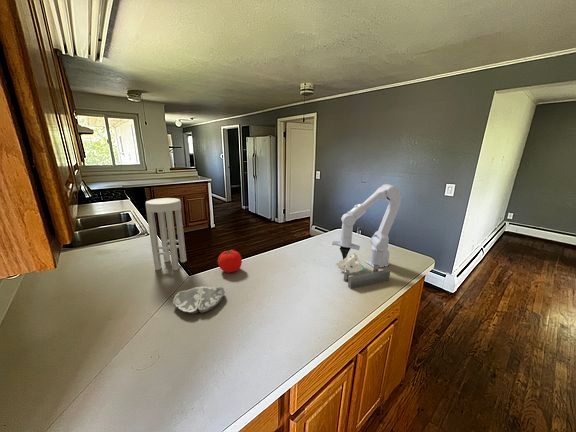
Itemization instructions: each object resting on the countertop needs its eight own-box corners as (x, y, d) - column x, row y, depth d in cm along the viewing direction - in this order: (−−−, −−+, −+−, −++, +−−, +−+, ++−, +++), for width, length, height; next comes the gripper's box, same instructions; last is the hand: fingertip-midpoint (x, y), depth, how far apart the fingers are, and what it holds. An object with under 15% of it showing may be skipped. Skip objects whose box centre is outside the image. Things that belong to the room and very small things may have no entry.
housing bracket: (377, 272, 123) (378, 263, 121) (388, 280, 115) (390, 271, 114) (340, 279, 115) (341, 270, 114) (350, 288, 108) (351, 279, 106)
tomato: (244, 266, 127) (244, 246, 124) (238, 277, 116) (237, 256, 113) (223, 264, 128) (222, 245, 125) (214, 275, 117) (213, 254, 114)
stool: (179, 272, 120) (171, 204, 111) (148, 271, 120) (138, 203, 111) (191, 258, 135) (185, 198, 126) (164, 258, 135) (156, 197, 126)
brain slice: (169, 322, 86) (168, 315, 85) (177, 295, 101) (176, 289, 101) (225, 313, 91) (225, 307, 90) (224, 289, 106) (224, 283, 106)
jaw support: (358, 273, 115) (347, 256, 118) (346, 280, 120) (335, 264, 123) (370, 265, 123) (359, 250, 126) (358, 273, 129) (347, 257, 132)
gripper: (362, 236, 127) (359, 259, 131) (335, 231, 134) (334, 253, 137) (359, 240, 121) (356, 264, 125) (331, 235, 128) (330, 258, 131)
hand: (344, 259), depth 131 cm, fingers closed
